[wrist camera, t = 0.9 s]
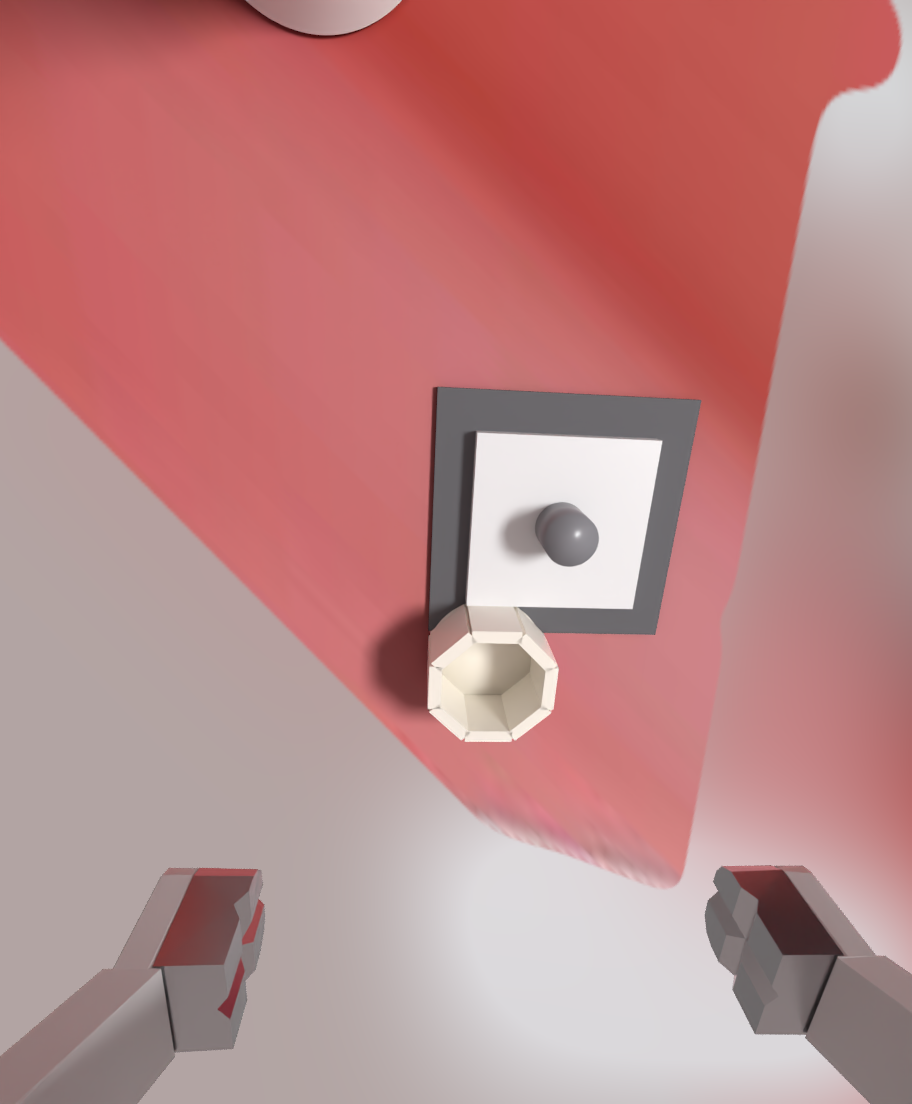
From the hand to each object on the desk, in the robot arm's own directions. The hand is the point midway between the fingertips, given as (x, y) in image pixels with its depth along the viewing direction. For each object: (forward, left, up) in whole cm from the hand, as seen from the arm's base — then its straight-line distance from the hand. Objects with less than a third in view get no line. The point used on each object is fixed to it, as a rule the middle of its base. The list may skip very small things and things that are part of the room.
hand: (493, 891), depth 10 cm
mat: (+3, +10, -35) cm, 36 cm away
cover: (+3, +10, -34) cm, 36 cm away
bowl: (+15, +5, -35) cm, 38 cm away
